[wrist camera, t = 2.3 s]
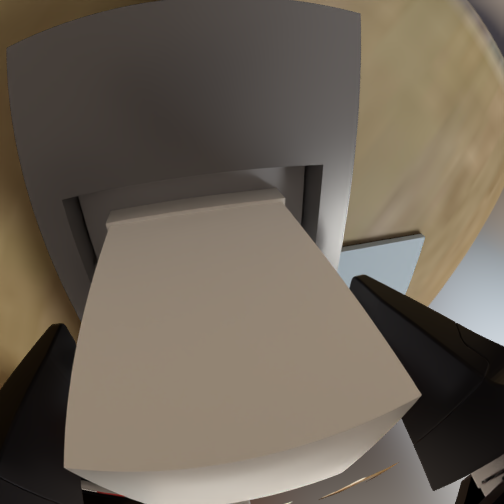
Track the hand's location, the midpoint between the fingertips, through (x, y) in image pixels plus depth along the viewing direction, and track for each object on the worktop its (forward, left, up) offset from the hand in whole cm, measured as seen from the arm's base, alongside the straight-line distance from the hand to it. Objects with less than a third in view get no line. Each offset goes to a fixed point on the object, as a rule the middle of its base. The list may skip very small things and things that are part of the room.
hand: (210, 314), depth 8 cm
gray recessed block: (0, -1, -5) cm, 5 cm away
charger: (0, 0, -2) cm, 2 cm away
